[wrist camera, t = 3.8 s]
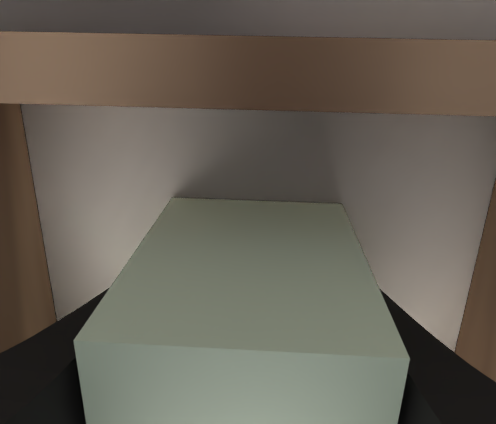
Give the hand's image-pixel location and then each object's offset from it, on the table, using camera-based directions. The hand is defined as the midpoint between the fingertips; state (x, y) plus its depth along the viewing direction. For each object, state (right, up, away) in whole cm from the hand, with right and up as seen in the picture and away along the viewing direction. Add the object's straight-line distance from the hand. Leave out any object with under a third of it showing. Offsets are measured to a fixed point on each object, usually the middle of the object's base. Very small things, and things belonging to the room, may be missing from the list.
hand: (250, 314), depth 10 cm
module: (0, +1, +2) cm, 2 cm away
